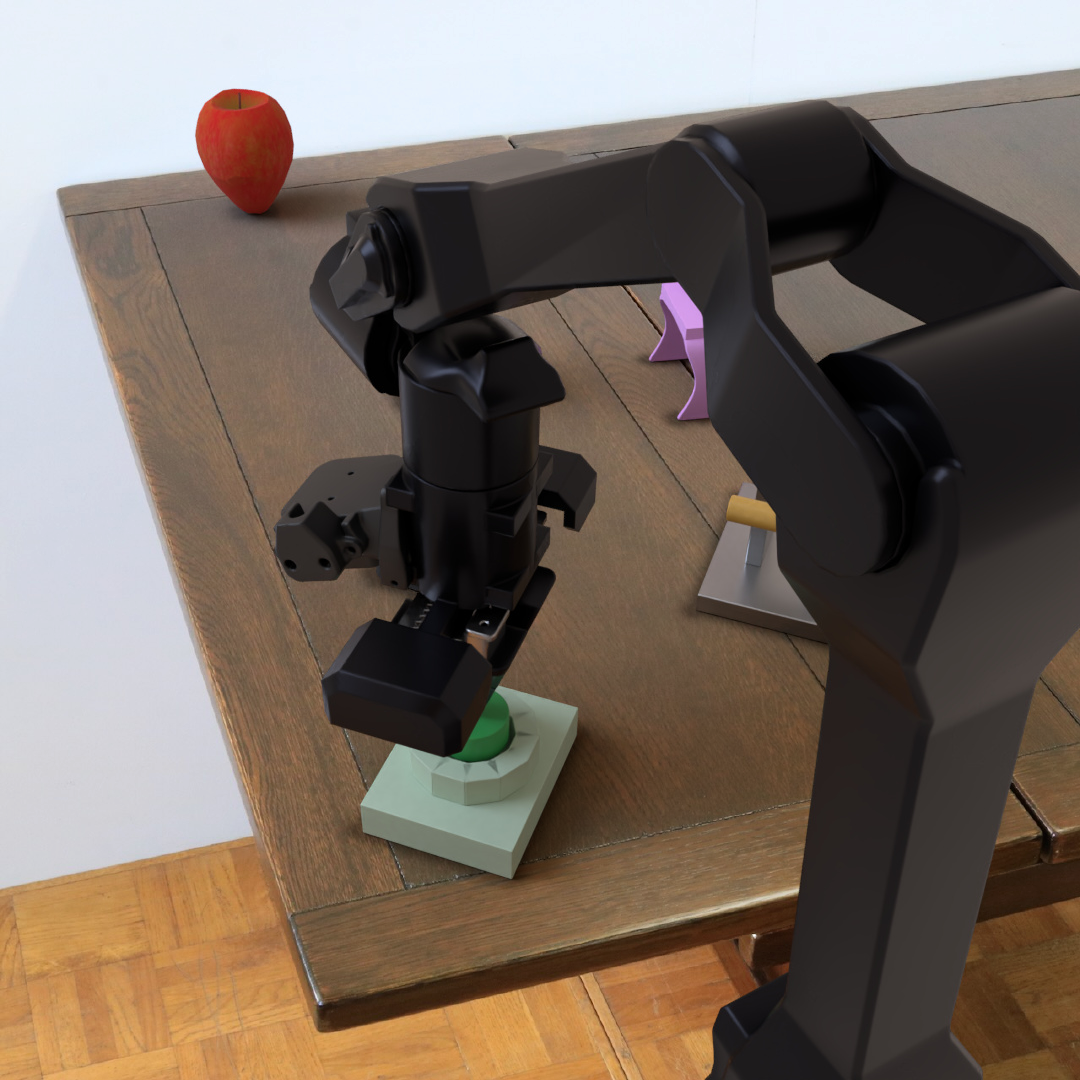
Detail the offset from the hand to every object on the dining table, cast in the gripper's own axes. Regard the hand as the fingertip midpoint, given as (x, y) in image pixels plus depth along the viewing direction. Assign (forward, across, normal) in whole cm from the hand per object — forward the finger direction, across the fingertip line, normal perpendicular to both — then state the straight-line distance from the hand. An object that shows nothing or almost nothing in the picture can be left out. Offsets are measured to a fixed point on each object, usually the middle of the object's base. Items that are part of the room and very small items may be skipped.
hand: (473, 707), depth 65 cm
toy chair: (+6, -41, +2) cm, 41 cm away
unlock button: (+2, 0, 0) cm, 2 cm away
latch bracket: (+6, -23, +12) cm, 27 cm away
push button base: (+6, 0, 0) cm, 6 cm away
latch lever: (-2, -19, +12) cm, 22 cm away
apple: (+6, -54, -43) cm, 69 cm away
